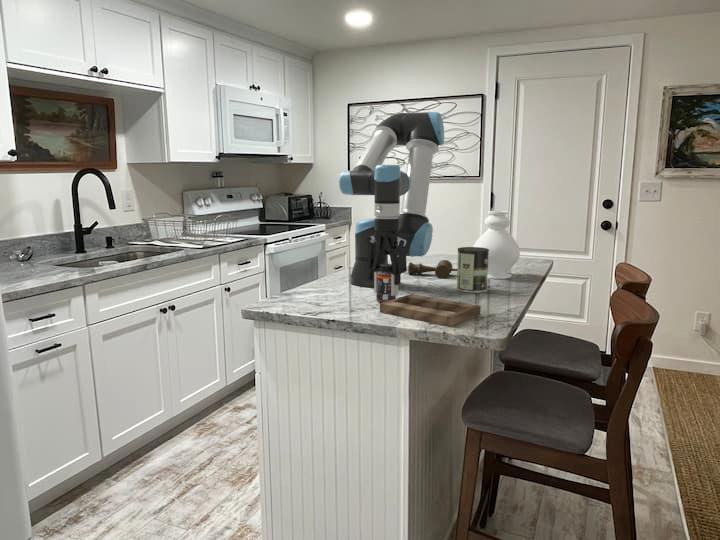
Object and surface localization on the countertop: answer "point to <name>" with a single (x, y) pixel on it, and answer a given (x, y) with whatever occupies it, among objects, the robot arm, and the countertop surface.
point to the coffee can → (472, 269)
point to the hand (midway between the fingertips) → (386, 293)
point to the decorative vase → (499, 245)
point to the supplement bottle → (384, 283)
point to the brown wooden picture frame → (430, 309)
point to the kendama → (432, 269)
